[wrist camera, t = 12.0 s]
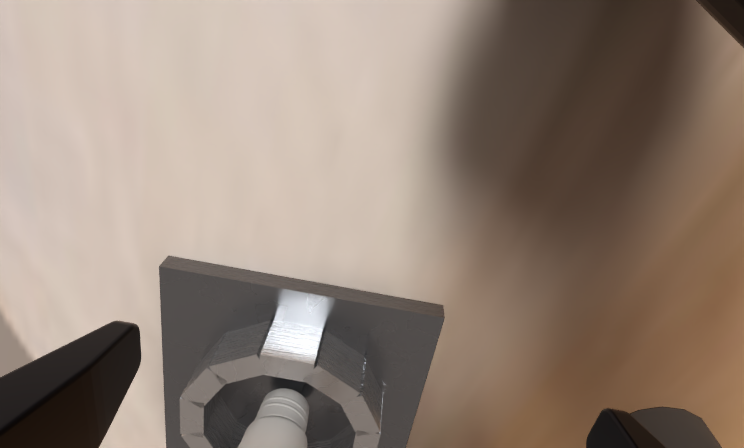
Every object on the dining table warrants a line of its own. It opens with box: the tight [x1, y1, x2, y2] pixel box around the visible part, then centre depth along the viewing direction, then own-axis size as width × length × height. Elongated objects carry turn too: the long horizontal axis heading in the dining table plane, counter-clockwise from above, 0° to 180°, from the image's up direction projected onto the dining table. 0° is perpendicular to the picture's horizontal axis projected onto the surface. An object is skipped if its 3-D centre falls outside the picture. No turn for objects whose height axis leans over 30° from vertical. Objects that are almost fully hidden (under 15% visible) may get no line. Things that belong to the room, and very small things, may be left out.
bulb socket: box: [159, 256, 444, 448], centre depth 25 cm, size 14×14×4 cm
